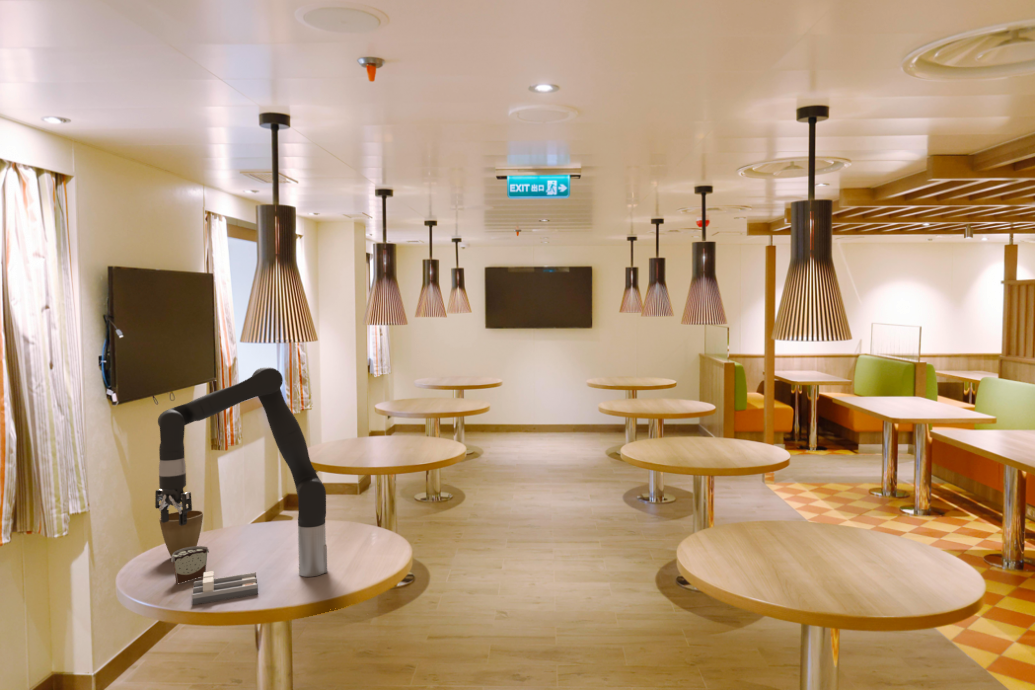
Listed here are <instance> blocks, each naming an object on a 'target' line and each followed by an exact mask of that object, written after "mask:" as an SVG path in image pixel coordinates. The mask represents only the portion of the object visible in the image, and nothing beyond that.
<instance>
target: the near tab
mask: <svg viewBox="0 0 1035 690" xmlns="http://www.w3.org/2000/svg"><path fill="white" fill-rule="evenodd" d="M214 579H215V576H214V577H208V578H203V577H202V580H203V592H209V591H214Z"/></svg>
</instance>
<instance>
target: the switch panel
mask: <svg viewBox="0 0 1035 690" xmlns="http://www.w3.org/2000/svg"><path fill="white" fill-rule="evenodd" d="M258 584H259V583H258V578H257V572H247V573H241V574H234V575H228V576H224V577H223V576H221V577H217V578H215V577H214V591H209V592H203V579H202V580H197V581H193V587H192V594H191V599H192V602H191V603H192V604H196V605H199V604H198V603H202V604H207V603H206V602H208V603H214V602H220V601H224V600H226V601H227V600H231V599H236V598H243V597H248V596H255V595H258V594H259V585H258Z"/></svg>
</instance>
